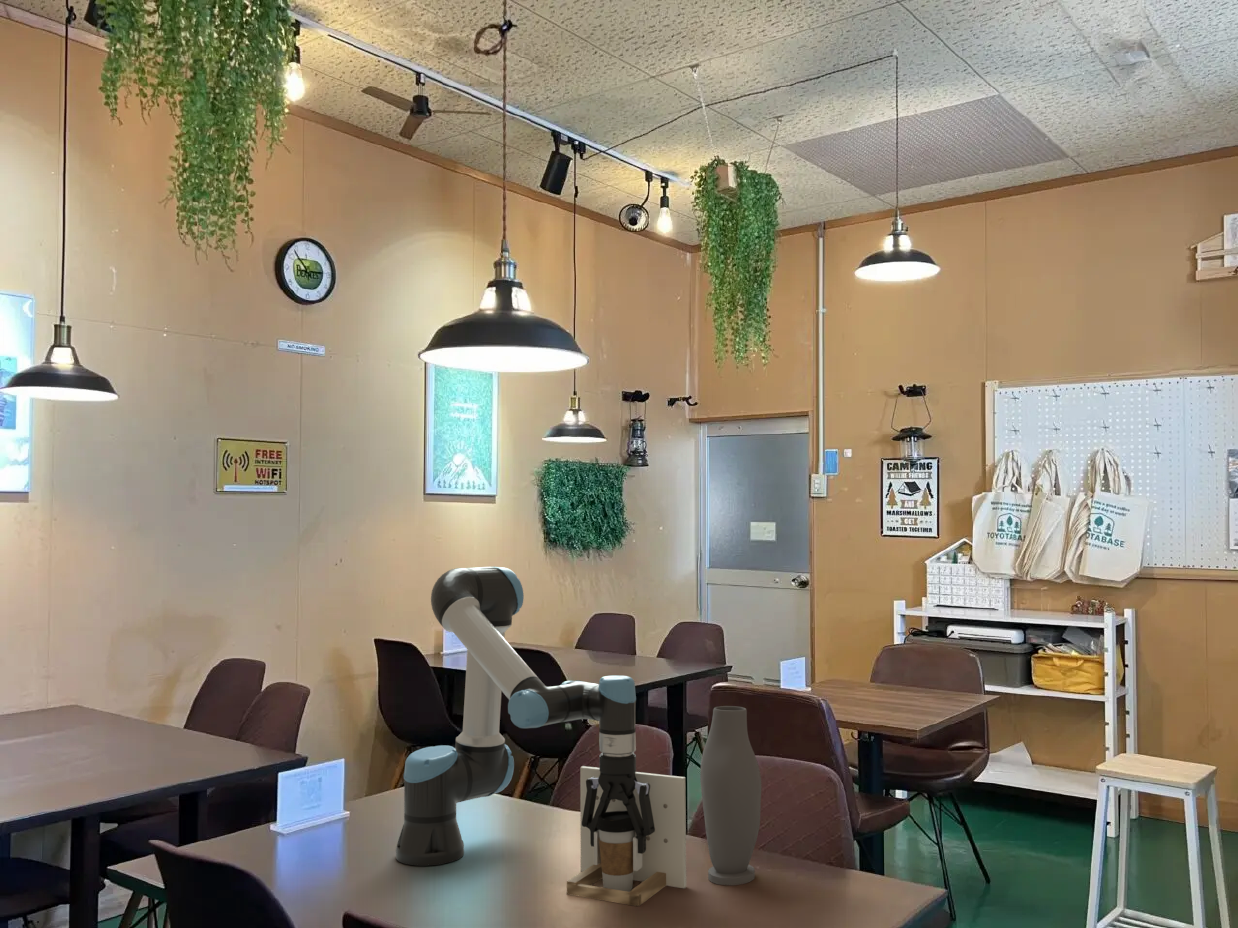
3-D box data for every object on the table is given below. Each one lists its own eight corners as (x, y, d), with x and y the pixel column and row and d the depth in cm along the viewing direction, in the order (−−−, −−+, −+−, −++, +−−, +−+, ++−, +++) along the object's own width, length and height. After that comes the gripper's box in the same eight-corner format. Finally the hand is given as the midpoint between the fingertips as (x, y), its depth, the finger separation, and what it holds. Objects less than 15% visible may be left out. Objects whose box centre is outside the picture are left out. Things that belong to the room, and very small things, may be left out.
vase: (744, 891, 206) (743, 714, 210) (688, 880, 213) (687, 709, 216) (771, 874, 217) (769, 706, 221) (716, 864, 224) (715, 702, 228)
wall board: (580, 871, 219) (580, 767, 221) (583, 869, 220) (583, 766, 222) (684, 888, 208) (682, 778, 210) (686, 886, 210) (685, 777, 211)
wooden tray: (566, 893, 206) (566, 881, 206) (597, 874, 217) (597, 862, 217) (638, 906, 198) (638, 892, 199) (666, 885, 210) (666, 872, 210)
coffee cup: (634, 896, 203) (633, 819, 205) (593, 894, 205) (592, 818, 206) (642, 882, 212) (641, 808, 213) (602, 880, 213) (601, 807, 214)
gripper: (564, 751, 212) (564, 863, 210) (656, 761, 202) (657, 878, 201) (581, 744, 218) (581, 853, 217) (671, 753, 209) (672, 867, 207)
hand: (618, 865), depth 209 cm, fingers open, 8 cm apart
